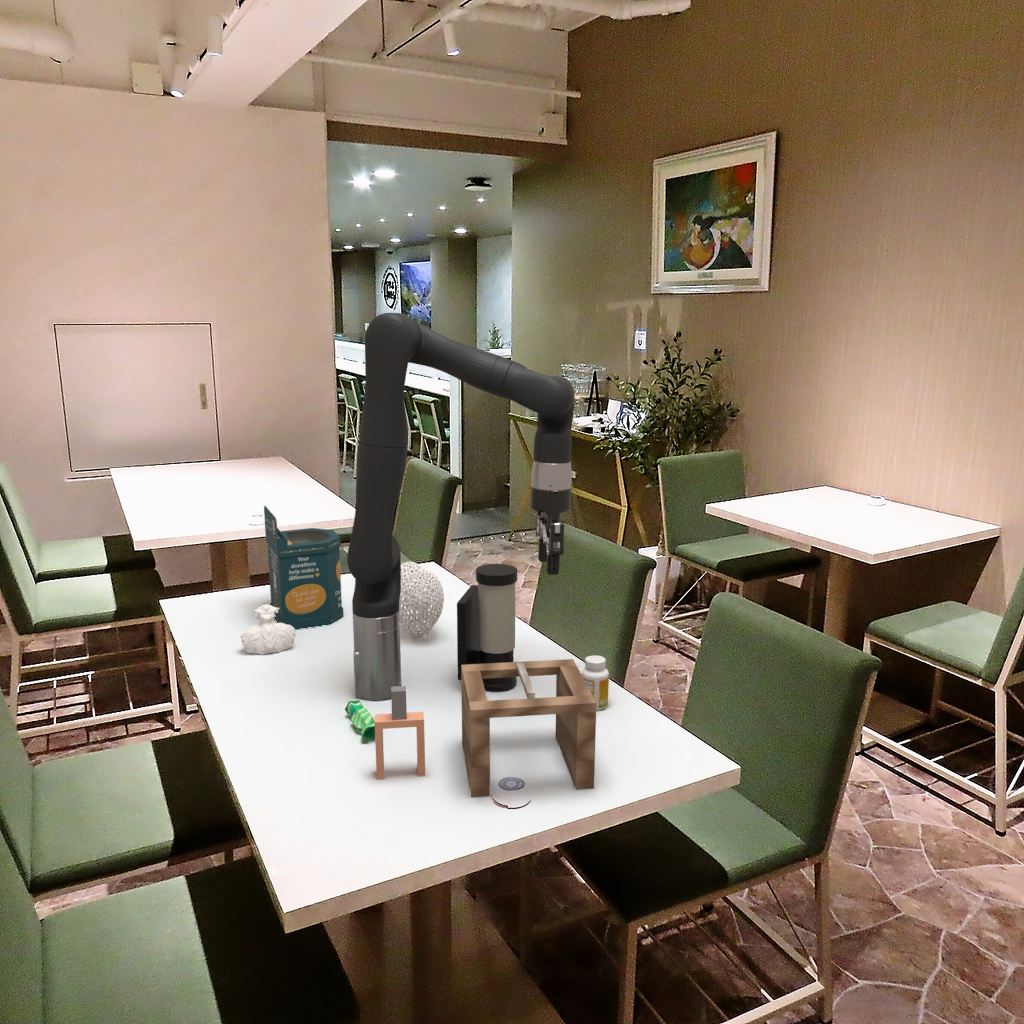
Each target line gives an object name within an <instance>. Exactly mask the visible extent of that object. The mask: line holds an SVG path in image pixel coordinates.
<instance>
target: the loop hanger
mask: <svg viewBox="0 0 1024 1024" xmlns="http://www.w3.org/2000/svg"><path fill="white" fill-rule="evenodd" d="M390 699H391V713H375V714H374V721H375V737H374V739H375V744H374V745H375V766H376V767H375V768H376V773H375V774H376V780H384V779H385V758H384V757H385V754H384V730H385V729H402V728H403V729H404V728H416V756H417V757H416V759H417V760H416V761H417V777H426V753H425V752H426V751H425V750H426V749H425V746H426V745H425V741H426V740H425V715H424V711H409V712H407V711H408V710H407V685H401V686H394V687H391V698H390Z"/></svg>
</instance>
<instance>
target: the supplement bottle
mask: <svg viewBox="0 0 1024 1024" xmlns="http://www.w3.org/2000/svg"><path fill="white" fill-rule="evenodd" d="M606 661H607V660H606V658H605V657H604V656H601V655H588V656H586V657H585V658H584V667H583V668H582V669H581V671H580V673H581V675H582V677H583V679H584V680H585V682H586V684H587V686H588V688H589V690H590V692H591V694H592V696H593V697H594V699H595V701H596V712H597V711H601V710H602V711H603V710H605V709H606V708H608V706H609V685H610V684H609V682H610V672H609V670H608V669H607V668H606V667H607V666H606V665H607V664H606V663H607V662H606Z"/></svg>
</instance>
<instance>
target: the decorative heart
mask: <svg viewBox="0 0 1024 1024" xmlns="http://www.w3.org/2000/svg"><path fill="white" fill-rule="evenodd" d="M441 582H442V581H441V580H440V579H439V578H438V576H437V575H436V574H434V573H433V572H431V571H429V570H426V569H425V568H424V566H422V565H421V564H419V563H416V562H414V561H406V562H403V563H401V593H400V600H399V618H400V626H402V627H403V629H404V630H405V631H406V632H407V633H408V634H410V635H411V636H413V637H416V638H418V637H422V640H423V641H425V635H426V633H427V635H428V638H427V639H428V641H427V642H428V643H431V630H432V628H433V627H434V626H435V625H436V624H437V622H438V621H439V618H441V615H442V613H443V609H444V603H445V593H444V589H443V588H444V587H443V585H442V583H441Z"/></svg>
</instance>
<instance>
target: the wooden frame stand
mask: <svg viewBox="0 0 1024 1024" xmlns="http://www.w3.org/2000/svg"><path fill="white" fill-rule="evenodd" d="M537 676H538V677H540V676H542V677H543V676H556V683H555V684H556V686H555V696H549V697H536V692H535V689H534V686H533V684H532V681H531V678H530V677H537ZM506 677H516V678H519V679H520V682H521V684H522V688H523V690H524V693H525V696H526V698H517V699H516V698H515V699H513V698H511V699H499V700H497V699H496V700H488V697H487V693H486V692H487V691H485V688H484V684H483V680H482V679H487V678H506ZM460 682H461V745H462V749H463V756H464V757H463V758H464V762H465V768H466V769H465V770H466V774H467V780H468V785H469V791H470V792H469V793H470V797H471V798H479V797H489V796H491V724H490V723H491V720H490V719H493V718H494V719H495V718H511V717H514V718H515V717H527V716H528V717H529V716H546V715H555V735H554V736H555V737H554V738H555V739H556V742H557V745H558V747H559V750H560V752H561V756H562V757H563V760H564V762H565V765H566V767H567V771H568V773H569V776H570V778H571V781H572V783H573V785H574V788H575V790H577V791H579V790H589V789H595V774H596V773H595V771H596V770H595V769H596V767H595V766H596V735H597V734H596V731H597V711H596V701H595V699H594V697H593V696H592V694H591V692H590V690H589V688H588V686H587V684H586V682H585V680H584V679H583V677H582V675H581V671H580V669H579V667H578V665H577V663H576V662H575V660H574V659H573V658H571V659H570V658H568V659H549V660H529V661H514V662H507V663H488V664H468V665H461V680H460Z"/></svg>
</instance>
